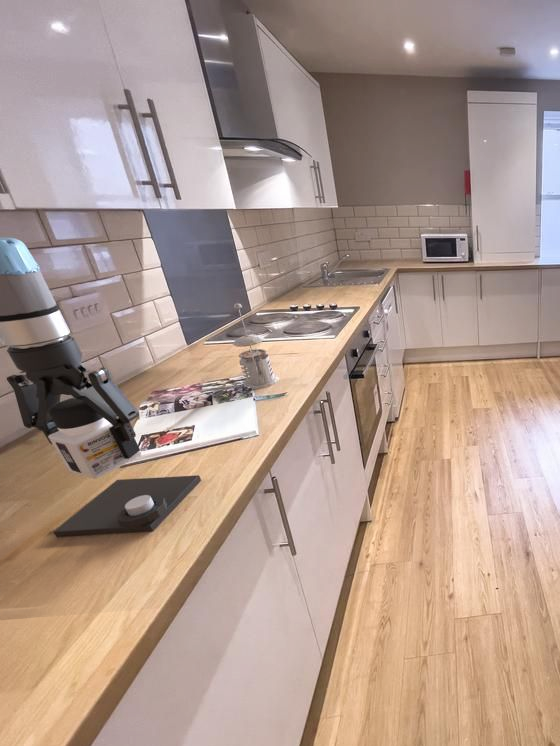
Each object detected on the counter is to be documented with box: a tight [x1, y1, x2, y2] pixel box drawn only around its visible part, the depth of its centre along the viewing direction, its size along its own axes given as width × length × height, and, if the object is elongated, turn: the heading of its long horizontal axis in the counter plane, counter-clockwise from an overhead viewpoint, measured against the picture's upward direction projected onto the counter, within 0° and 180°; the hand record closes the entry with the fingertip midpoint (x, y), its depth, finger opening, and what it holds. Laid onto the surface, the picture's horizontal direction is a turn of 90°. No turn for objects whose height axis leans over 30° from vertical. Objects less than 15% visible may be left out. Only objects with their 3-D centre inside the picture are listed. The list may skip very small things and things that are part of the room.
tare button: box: [125, 495, 154, 516], centre depth 73 cm, size 4×4×2 cm
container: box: [48, 397, 143, 480], centre depth 73 cm, size 8×8×13 cm
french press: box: [232, 302, 280, 390], centre depth 122 cm, size 10×12×25 cm
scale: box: [52, 474, 202, 538], centre depth 77 cm, size 16×14×3 cm
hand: (102, 455), depth 75 cm, fingers closed on container, 10 cm apart
